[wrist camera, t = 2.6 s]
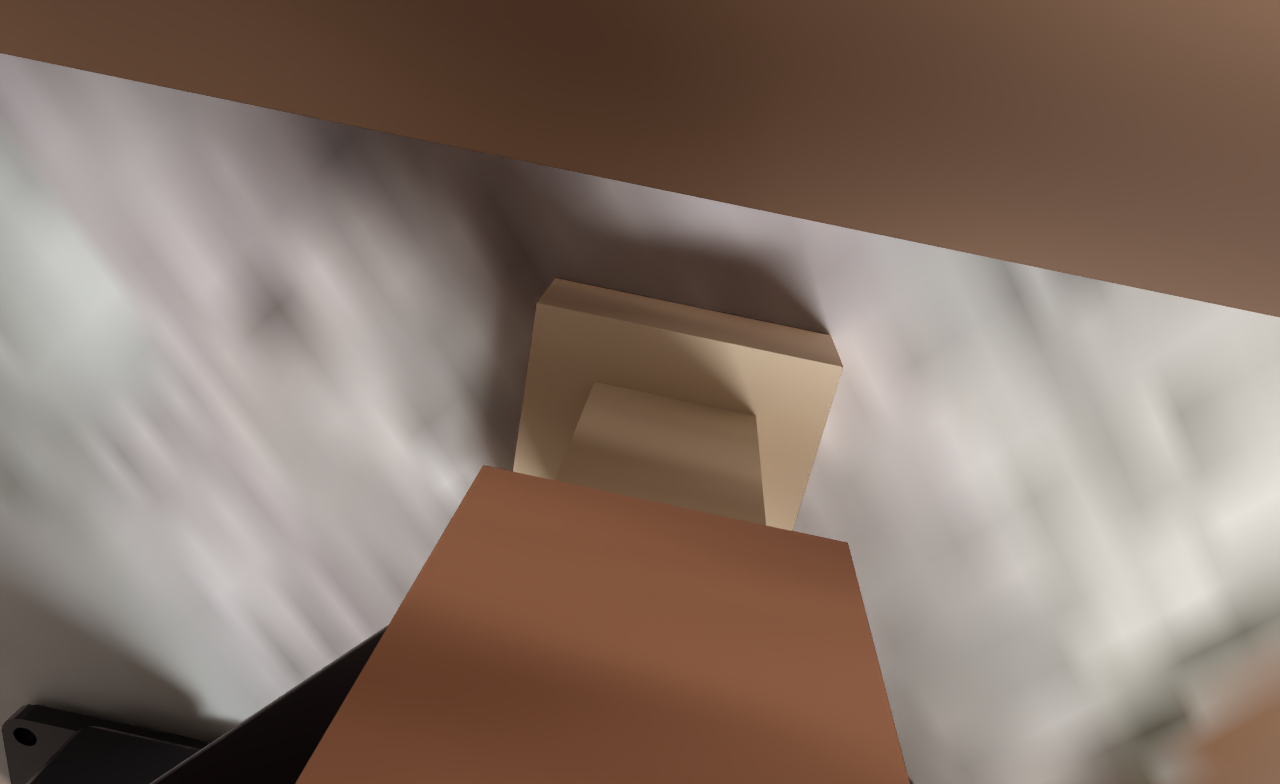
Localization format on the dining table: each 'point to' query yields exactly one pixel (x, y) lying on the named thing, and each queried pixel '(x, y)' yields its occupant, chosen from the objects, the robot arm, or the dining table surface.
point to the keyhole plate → (792, 108)
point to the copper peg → (634, 578)
